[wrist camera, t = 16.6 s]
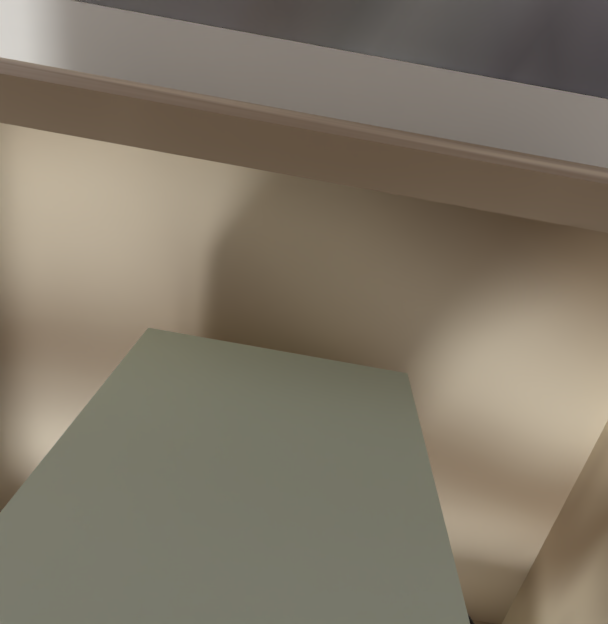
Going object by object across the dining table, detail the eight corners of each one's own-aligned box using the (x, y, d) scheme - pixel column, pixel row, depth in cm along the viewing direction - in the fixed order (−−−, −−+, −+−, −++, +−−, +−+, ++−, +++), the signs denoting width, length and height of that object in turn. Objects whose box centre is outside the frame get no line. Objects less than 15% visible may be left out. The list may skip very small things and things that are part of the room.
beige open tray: (483, 546, 18) (555, 767, 12) (34, 469, 17) (-116, 655, 12) (653, 172, 12) (938, 244, 6) (0, 52, 12) (-314, 16, 6)
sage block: (353, 555, 11) (373, 1137, 5) (141, 518, 11) (-109, 1063, 5) (407, 373, 9) (557, 970, 3) (147, 327, 9) (-262, 836, 3)
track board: (526, 566, 19) (529, 576, 18) (-258, 431, 18) (-270, 438, 18) (753, 126, 12) (765, 127, 12) (-463, -98, 12) (-488, -104, 11)
